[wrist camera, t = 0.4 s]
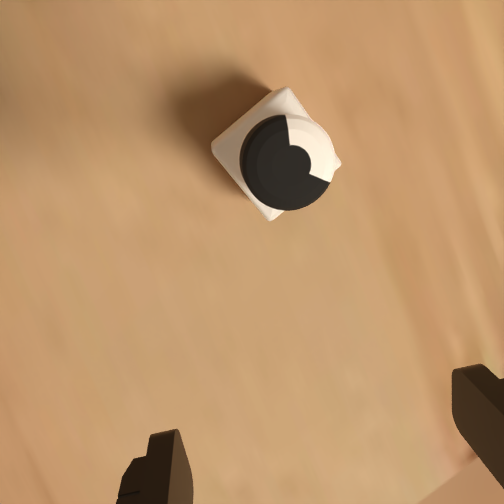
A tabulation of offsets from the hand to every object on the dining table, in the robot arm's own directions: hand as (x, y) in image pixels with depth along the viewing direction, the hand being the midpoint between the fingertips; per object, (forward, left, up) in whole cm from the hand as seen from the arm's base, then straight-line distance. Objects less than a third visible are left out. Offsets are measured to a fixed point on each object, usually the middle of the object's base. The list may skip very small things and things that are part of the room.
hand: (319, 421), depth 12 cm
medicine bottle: (-5, +2, -28) cm, 29 cm away
